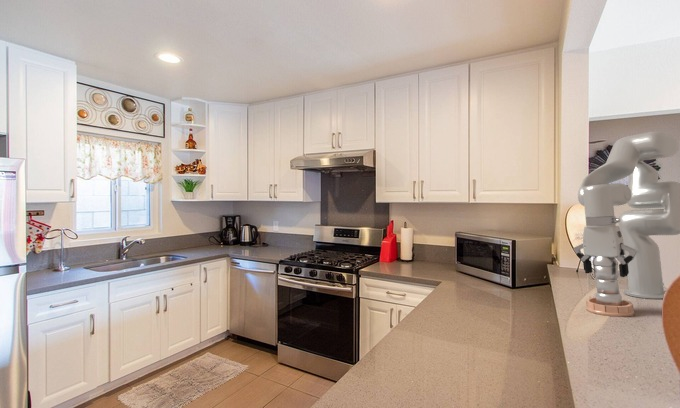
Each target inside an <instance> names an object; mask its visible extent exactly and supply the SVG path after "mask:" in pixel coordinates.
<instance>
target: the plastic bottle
mask: <svg viewBox="0 0 680 408" xmlns="http://www.w3.org/2000/svg"><path fill="white" fill-rule="evenodd" d="M593 257H594V256H593ZM591 263H592V266H593V267H592V268H593V269H594V270H593V271H594V273H595V278H596V293H595V294H596V296H595V297H596V300H597V303H598V304H600V305H606V306H622V300H623V298H622V294H621V291H620V287H619V280H618V272H619V270H618V269H619V261H618V260H617V259H616V258H610V257H602V256H597V257H594V258H593V260H592V261H591Z"/></svg>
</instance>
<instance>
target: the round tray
mask: <svg viewBox="0 0 680 408" xmlns="http://www.w3.org/2000/svg"><path fill="white" fill-rule="evenodd" d="M585 303H586V304H585V305H586V307H585V308H586V309H585V310H586V311H587V312H589V313H592V314H596V315H598V316H604V317H605V316H606V317H616V318H617V317H618V318H623V317H625V318H626V317H632V316H634V315H635V310H634V309H635V308H634V304H633V302H632V301H629V300H625V299H622V306H606V305H600V304H598V303H597V300H596V296H594V297H589V298H586V299H585Z"/></svg>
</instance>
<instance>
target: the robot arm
mask: <svg viewBox="0 0 680 408" xmlns="http://www.w3.org/2000/svg"><path fill="white" fill-rule="evenodd" d="M679 150H680V142H679V140H678V138H677V136H675V135H674V134H672V133H670V132H664V131H648V132H643V133H638V134H633V135H627V136H624V137H621V138H619V139H617V140H616V141H615V142H614V143H613V145H612V148H611V150H610V152H609V155H608V157H607V160H606V162H605V163H603V164H602V165H600V166H599V167H598V168H597V167H596V169H594V170H593V171H592V172H589V174H587V175H586V176H585V177H584V178H583V179H582V182H581V184H580V186H579V189H578V193H577V201H578V202H579V204H580V205H581V206H583V207H584V215H585V224H586V225H585V226H584V227H583V235H582V243H581V244H578V245H576V246H575V247H573V251H574V252H575V254H576V257H578V258H579V259H580V260H581V262H582V263H583V264H582V265H583V270H584V271H585V272H584V273H585V274H590V273H592V272H593V267H592V266H593V263H592V260H591V258H593V257H597V256H602V257H610V258H616V260H617V262H618V269H619V270H618V272H619V277H621V278H625V277H627V281H628V282H627V283H628V284H627V285H628V288H624V289H623V293H624V295H627V296H631V297H633V298H634V297H635V298H641V299H655V300H660V299H661V300H663V299H664V298H663V297H664V294H665V292H667V291H666V290H665V289H664V285H665V283H664V281H663V272H662V264H661V252H660V247H659V245H658V243H657V242H655V240H654V239H652V238H651V237H650V236H677V235H680V183H679V182H678V181H672V180H669V181H659V172H658V171H657V170H656V168H654V167H653V166H651V165H650V164H648V163H646V162H645V161H650V160H657V159H662V158H663V159H664V158H670V157H673V156H675V155H676V154H677V153H678V151H679ZM627 177H628V181H627V184H625V183H621V182H619V183H618V181H620V180H623V179H624V178H627ZM616 182H617V183H616ZM626 204H627V205H628V206H629V207H630V208H633V209H630V210H626V211H623V212H622V213H620V215H619V216H618V217H616V216H615V209H614V207H615V206H616V207H617V206H622V205H623V206H624V205H626ZM617 223H618V225H617ZM582 249H583V252H582V251H581V250H582Z"/></svg>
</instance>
